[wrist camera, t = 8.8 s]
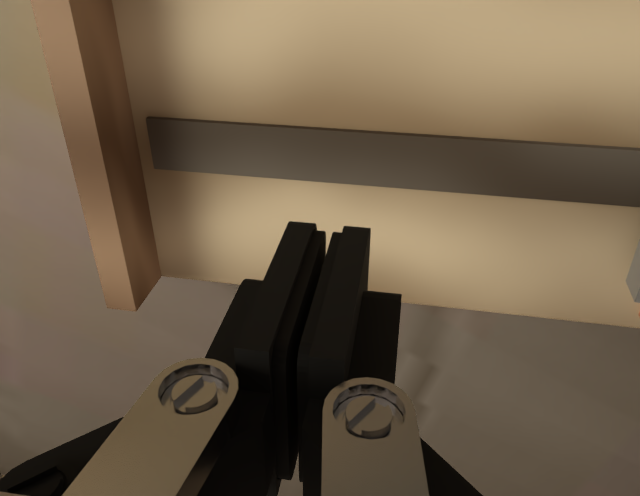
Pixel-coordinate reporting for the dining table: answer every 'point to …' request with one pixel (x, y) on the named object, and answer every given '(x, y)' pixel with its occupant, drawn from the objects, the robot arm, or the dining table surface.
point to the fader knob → (634, 276)
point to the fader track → (359, 143)
